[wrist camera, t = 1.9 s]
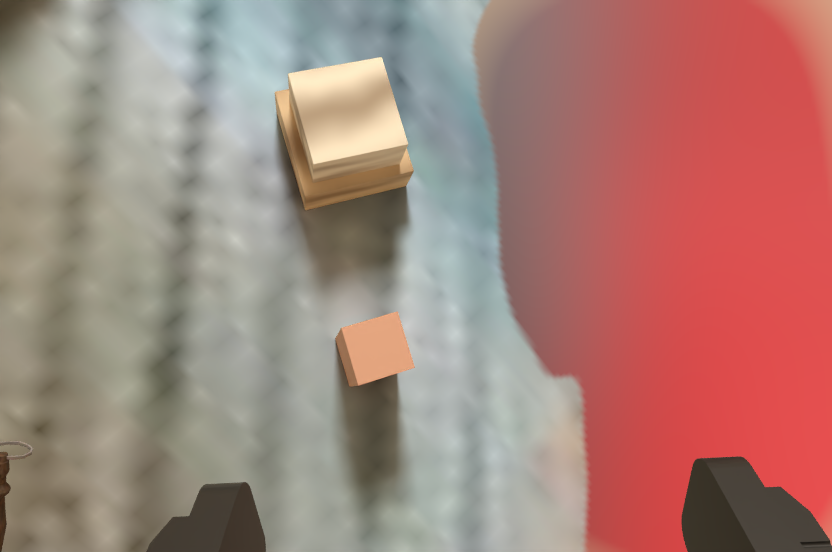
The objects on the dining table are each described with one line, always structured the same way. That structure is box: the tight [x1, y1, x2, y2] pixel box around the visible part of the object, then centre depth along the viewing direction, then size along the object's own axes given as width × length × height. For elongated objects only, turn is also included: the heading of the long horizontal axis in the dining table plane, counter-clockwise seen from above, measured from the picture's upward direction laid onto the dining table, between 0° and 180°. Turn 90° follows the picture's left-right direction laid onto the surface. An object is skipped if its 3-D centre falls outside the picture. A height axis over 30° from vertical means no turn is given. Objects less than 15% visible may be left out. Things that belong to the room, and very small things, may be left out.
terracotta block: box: [335, 312, 415, 387], centre depth 50 cm, size 4×4×9 cm
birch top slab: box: [288, 57, 408, 183], centre depth 51 cm, size 8×8×4 cm
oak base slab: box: [275, 89, 414, 210], centre depth 56 cm, size 10×10×4 cm
